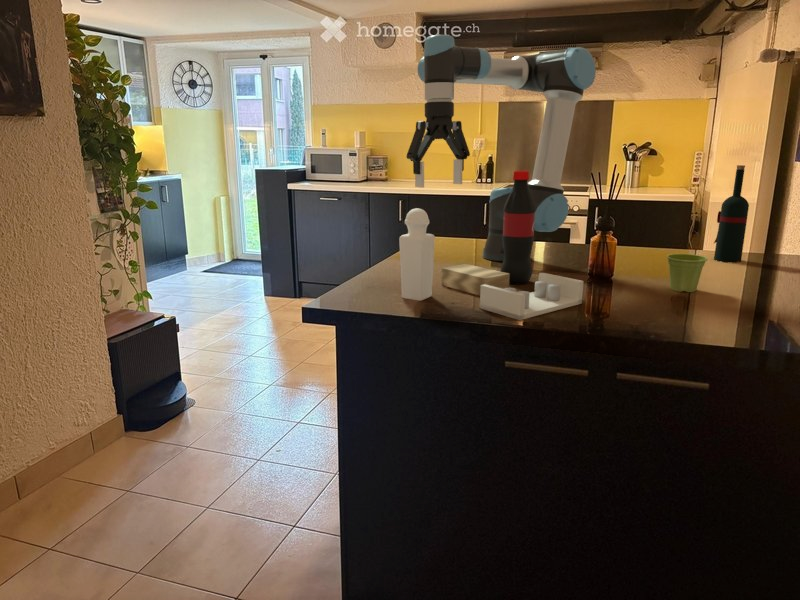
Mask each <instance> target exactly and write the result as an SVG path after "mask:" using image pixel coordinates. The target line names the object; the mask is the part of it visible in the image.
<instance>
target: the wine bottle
mask: <svg viewBox="0 0 800 600" xmlns="http://www.w3.org/2000/svg"><path fill="white" fill-rule="evenodd" d="M745 168H746V165H741V164H740V165H739V164H738V165H737V164H736V170H735V176H734V177H735V178H734V185H733V192H732V196H731V195H730V196H729V197H727V198H726V199H725V200H724V201H723V202H722V203H721V208H720V209H721V210H718V213H717V219H716V222H717V224H718V228H717V233H716V238H715V239H714V242H713V244H715V250H714V254H713V255H714V257H713V260H714V261H716V260H717V261H716V262H720V261H722V263H728V262H732V264H734V263H741V262H742V256H743V249H744V243H745V236H746V229H747V222H748V215H749V207H750V204H749V201H748V200H747V199H746V198H745V197H743V196H742V189H743V181H744V176H745Z"/></svg>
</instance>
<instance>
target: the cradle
mask: <svg viewBox="0 0 800 600" xmlns="http://www.w3.org/2000/svg"><path fill="white" fill-rule="evenodd" d="M583 289H584V280H580V279H575V278H571V277H566V276H562V275H557V274H556V275H555V274H551V273H547V272H539V273H538V280H536V281H535V282H534V291H532V292H530V291H526V290H519V291H517V289H516V288H514V287H509V288H504V289H502V288H498V287H494V286H490V285H486V284H484V285H481V289H480V295H479V296H480V297H479V309H481V310H484V311H488V312H491V313H494V314H497V315H499V316H500V315H501V316H503V317H504V316H505V317H507V318H511V319H515V320H518V321H522V320H526V319H529V318H532V317H533V318H534V317H536V316H541V315H544V314H548V313H551V312H555V311H558V310H559V311H560V310H563V309H566V308H569V307H573V306H577V305H580V304H581V305H582V302H583V292H584V291H583Z"/></svg>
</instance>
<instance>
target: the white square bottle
mask: <svg viewBox="0 0 800 600" xmlns="http://www.w3.org/2000/svg"><path fill="white" fill-rule="evenodd" d="M429 224H430V219H429V216H428V213H427V211H425V210H424V209H423V208H419V207H418V208H417V207H415V208H412V209H410V210H409V211H408V212H407V213H406V216H405V219H404V225H406V227H407V233H406V234H402V235H401V236H399V237H398V238H399V239H398V240H399V241H398V242H399V243H398V244H399V260H400V261H399V262H400V265H399V267H400V282H401V283H400V286H401V289H400V290H401V298H402V299H407V300H412V301H419V302H420V301H424V300H426V299H428V298H430V297H432V294H433V278H434V277H433V276H434V261H435V257H434V256H435V241H436V239H435V238H436V237H435V235H434V234H432V233H427V229H428V226H429Z"/></svg>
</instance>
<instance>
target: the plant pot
mask: <svg viewBox="0 0 800 600" xmlns="http://www.w3.org/2000/svg"><path fill="white" fill-rule="evenodd" d="M666 258H667V262H668V265H669V266H668V267H669V287H670V290H672V291H675V292H678V293H679V292H680V293H681V292H686V293H694V292H696V291H697V289H698V285H699V283H700V282H699V281H700V278H701V275H702V271H703V267H704V266H705V265H706V262H707V260H708V257H706V256H703V255H699V254H693V253H692V254H691V253H690V254H689V253H671V254H667V255H666Z"/></svg>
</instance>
